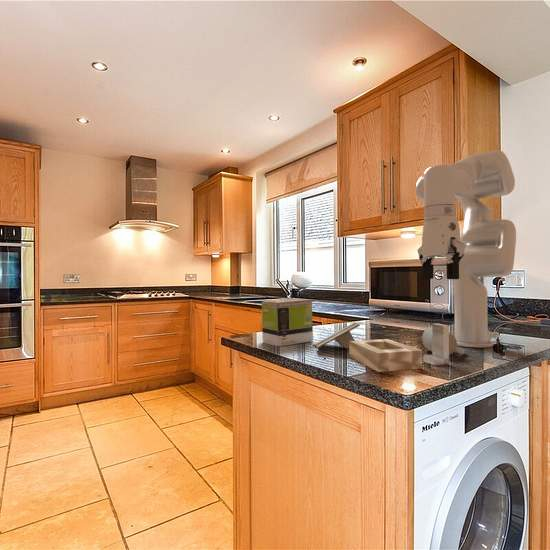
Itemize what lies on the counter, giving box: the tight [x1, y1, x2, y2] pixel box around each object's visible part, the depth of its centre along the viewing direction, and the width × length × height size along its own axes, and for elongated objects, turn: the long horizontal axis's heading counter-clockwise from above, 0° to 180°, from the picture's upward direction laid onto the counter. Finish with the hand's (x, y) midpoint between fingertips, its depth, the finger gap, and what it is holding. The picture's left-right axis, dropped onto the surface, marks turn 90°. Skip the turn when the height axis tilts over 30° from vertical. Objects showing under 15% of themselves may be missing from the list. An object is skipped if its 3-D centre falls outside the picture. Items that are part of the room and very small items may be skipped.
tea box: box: [261, 298, 314, 347], centre depth 125 cm, size 15×10×15 cm, turn 124°
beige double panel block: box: [314, 321, 362, 350], centre depth 113 cm, size 16×9×15 cm
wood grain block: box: [422, 322, 450, 366], centre depth 95 cm, size 4×4×10 cm
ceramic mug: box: [421, 325, 466, 356], centre depth 106 cm, size 11×8×8 cm
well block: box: [348, 338, 423, 373], centre depth 96 cm, size 12×16×4 cm
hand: (439, 279), depth 95 cm, fingers open, 9 cm apart
